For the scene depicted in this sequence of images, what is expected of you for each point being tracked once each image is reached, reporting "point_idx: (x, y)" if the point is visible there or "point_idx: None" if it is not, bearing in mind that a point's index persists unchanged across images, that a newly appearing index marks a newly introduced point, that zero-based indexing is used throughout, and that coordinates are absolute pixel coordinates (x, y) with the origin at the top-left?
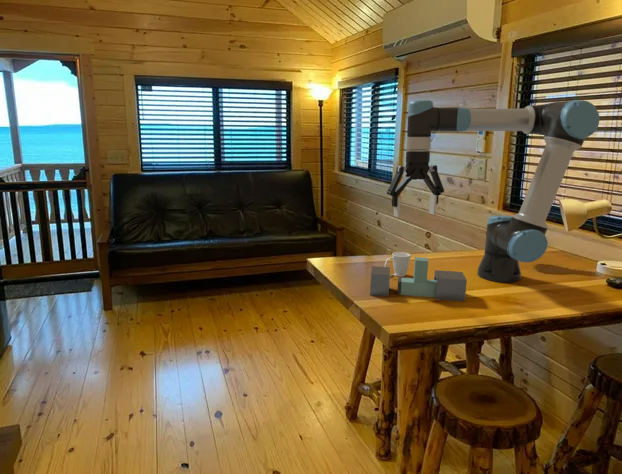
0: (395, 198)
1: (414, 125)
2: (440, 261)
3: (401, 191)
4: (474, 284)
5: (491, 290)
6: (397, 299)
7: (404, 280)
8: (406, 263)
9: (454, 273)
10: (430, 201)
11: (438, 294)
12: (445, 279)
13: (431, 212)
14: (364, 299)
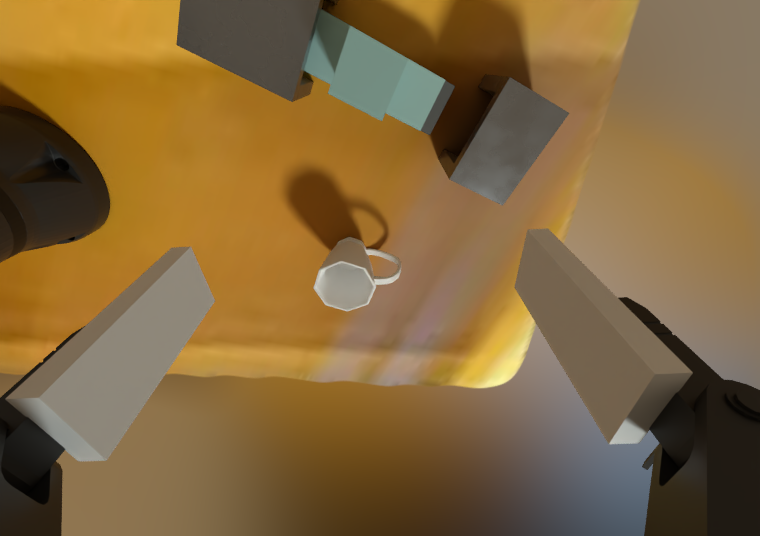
0: (697, 375)
1: None
2: None
3: (717, 480)
4: (143, 119)
5: (92, 39)
6: (474, 32)
7: (426, 94)
8: (337, 253)
9: (220, 29)
10: (153, 376)
11: None
12: None
13: (196, 283)
14: (578, 64)
